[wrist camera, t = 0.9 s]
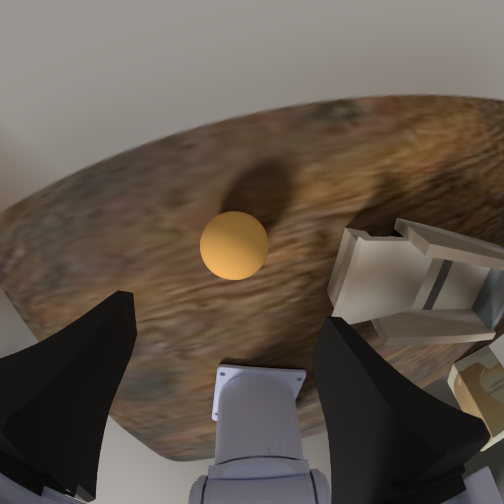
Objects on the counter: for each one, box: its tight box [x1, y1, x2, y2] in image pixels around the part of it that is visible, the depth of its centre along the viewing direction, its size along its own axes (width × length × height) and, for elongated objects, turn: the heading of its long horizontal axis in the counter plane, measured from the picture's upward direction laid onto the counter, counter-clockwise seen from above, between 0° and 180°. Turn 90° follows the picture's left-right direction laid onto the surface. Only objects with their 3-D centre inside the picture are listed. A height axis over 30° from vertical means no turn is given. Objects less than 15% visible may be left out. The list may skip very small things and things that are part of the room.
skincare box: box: [448, 346, 504, 451], centre depth 21 cm, size 6×4×12 cm
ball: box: [200, 211, 269, 280], centre depth 17 cm, size 4×4×4 cm
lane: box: [326, 218, 504, 346], centre depth 19 cm, size 8×18×4 cm, turn 82°
